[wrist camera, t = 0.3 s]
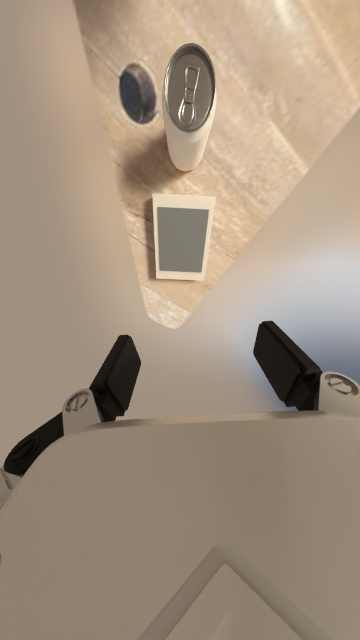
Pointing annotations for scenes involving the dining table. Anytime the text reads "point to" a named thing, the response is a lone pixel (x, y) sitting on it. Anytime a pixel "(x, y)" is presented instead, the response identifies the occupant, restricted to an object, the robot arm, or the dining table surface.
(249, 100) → the dining table surface
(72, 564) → the robot arm
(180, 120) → the can
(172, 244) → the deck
